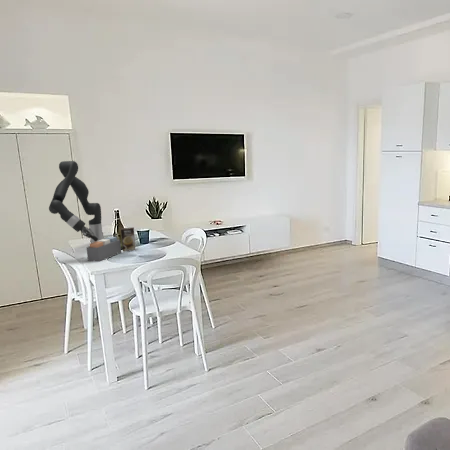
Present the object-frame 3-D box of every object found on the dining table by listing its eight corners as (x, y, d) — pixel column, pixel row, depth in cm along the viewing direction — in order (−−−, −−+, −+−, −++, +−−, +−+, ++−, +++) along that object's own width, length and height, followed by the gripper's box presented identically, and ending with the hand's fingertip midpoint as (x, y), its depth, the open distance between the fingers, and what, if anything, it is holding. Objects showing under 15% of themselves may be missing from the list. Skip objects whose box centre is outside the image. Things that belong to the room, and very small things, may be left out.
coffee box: (122, 251, 278) (120, 229, 276) (123, 249, 285) (121, 228, 282) (135, 250, 280) (133, 228, 277) (135, 248, 286) (133, 226, 283)
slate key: (109, 240, 277) (109, 236, 276) (117, 241, 275) (116, 236, 274) (104, 242, 271) (104, 238, 271) (112, 243, 269) (111, 238, 269)
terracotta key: (95, 246, 262) (95, 241, 261) (103, 246, 260) (102, 241, 259) (90, 248, 256) (89, 243, 256) (97, 248, 254) (97, 243, 254)
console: (110, 251, 280) (109, 239, 278) (121, 252, 277) (120, 239, 275) (88, 260, 257) (86, 247, 255) (99, 261, 254) (98, 248, 252)
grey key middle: (103, 243, 269) (102, 239, 269) (110, 243, 267) (109, 239, 267) (97, 245, 264) (97, 241, 263) (105, 245, 262) (104, 241, 261)
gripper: (77, 220, 247) (98, 238, 251) (82, 217, 260) (102, 234, 264) (69, 229, 248) (91, 246, 251) (75, 225, 261) (95, 242, 264)
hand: (97, 240), depth 257 cm, fingers closed
